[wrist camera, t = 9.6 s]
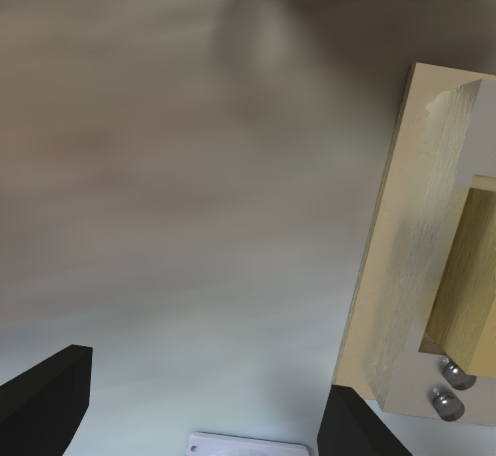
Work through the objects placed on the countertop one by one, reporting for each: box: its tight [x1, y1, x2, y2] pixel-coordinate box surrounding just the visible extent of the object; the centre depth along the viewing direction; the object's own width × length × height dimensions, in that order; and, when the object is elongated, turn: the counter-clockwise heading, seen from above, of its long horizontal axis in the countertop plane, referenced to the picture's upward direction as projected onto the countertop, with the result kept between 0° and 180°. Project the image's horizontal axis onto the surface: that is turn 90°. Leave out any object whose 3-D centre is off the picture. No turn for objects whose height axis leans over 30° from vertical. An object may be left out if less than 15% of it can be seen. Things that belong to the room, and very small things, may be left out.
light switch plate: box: [331, 62, 496, 426], centre depth 17 cm, size 19×11×3 cm, turn 172°
